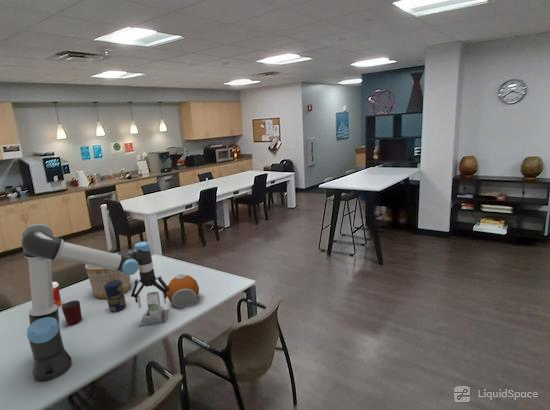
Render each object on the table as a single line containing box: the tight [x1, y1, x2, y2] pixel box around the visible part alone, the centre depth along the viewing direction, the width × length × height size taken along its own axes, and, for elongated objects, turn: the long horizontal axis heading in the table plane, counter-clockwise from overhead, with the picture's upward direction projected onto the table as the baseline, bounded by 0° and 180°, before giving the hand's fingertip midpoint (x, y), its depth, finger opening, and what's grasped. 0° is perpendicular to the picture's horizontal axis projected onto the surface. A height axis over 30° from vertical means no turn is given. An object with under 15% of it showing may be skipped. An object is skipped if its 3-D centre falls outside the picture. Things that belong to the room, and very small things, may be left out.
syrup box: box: [145, 290, 162, 316], centre depth 194 cm, size 6×6×14 cm
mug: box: [61, 300, 83, 326], centre depth 199 cm, size 12×9×11 cm
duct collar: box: [139, 306, 170, 328], centre depth 195 cm, size 14×14×4 cm
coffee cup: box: [52, 281, 62, 308], centre depth 218 cm, size 8×8×15 cm
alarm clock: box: [167, 273, 200, 308], centre depth 210 cm, size 19×18×17 cm
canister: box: [104, 280, 127, 312], centre depth 208 cm, size 10×10×18 cm
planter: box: [84, 264, 131, 299], centre depth 232 cm, size 26×26×22 cm
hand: (152, 305), depth 194 cm, fingers open, 13 cm apart
